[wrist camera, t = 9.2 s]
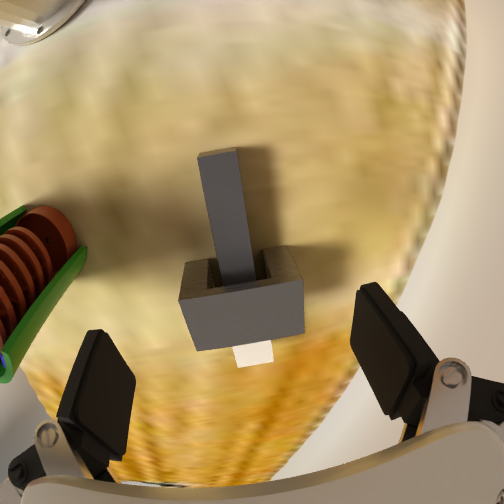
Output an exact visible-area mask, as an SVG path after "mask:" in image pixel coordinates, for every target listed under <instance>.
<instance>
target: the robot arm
mask: <svg viewBox="0 0 504 504" xmlns="http://www.w3.org/2000/svg"><path fill="white" fill-rule="evenodd" d="M84 1H85V0H0V26H1V33H2V36H3V38H4V39H5V40H6V41H7V42H8V43H11V44H14V45H21V46H23V45H29V44H32V43H35V42H37V41H39V40H41V39H43V38H45V37H47V36H48V35H50V34H51V33H52V32H54V31H55V30H57V29H58V28H59V27H60V26H61V25H63V24H64V23H65V22H66V21H67V20H68V19H69V18H70V17H71V16H72V15H73V14H74V13H75V12H76V11H77V10H78V8H79V7H80V6H81V5H82V4H83V2H84ZM350 345H351V348H352V350H353V352H354V354H355V356H356V358H357V360H358V362H359V364H360V366H361V368H362V370H363V372H364V374H365V376H366V378H367V380H368V382H369V384H370V386H371V388H372V390H373V392H374V394H375V396H376V398H377V400H378V402H379V405H380V407H381V409H382V411H383V413H384V414H385V415H389V416H390V418H391V420H394V419H396V418H399V417H402V419H403V421H404V423H405V425H404V428H403V431H402V434H401V437H400V440H399V443H398V444H397V445H395V446H392V447H390V448H387V449H385V450H382V451H379V452H377V453H374V454H371V455H369V456H366V457H363V458H360V459H357V460H354V461H351V462H348V463H346V464H342V465H339V466H335V467H332V468H328V469H325V470H321V471H317V472H313V473H309V474H305V475H300V476H296V477H291V478H286V479H281V480H275V481H269V482H262V483H255V484H247V485H238V486H226V487H209V488H165V487H148V486H137V485H128V484H122V483H121V482H120V481H119V479H118V478H117V476H116V475H115V473H114V472H113V470H112V469H111V467H110V466H109V460H114V461H122V455H124V454H125V453H126V447H127V438H128V431H129V424H130V417H131V410H132V404H133V398H134V392H135V386H136V379H135V376H134V374H133V373H132V371H131V370H130V368H129V367H128V365H127V364H126V362H125V361H124V359H123V357H122V356H121V354H120V353H119V351H118V349H117V348H116V346H115V344H114V343H113V341H112V339H111V338H110V336H109V335H108V333H105V332H104V331H103V330H102V329H98V330H89V331H88V332H87V333H86V335H85V338H84V340H83V343H82V345H81V347H80V350H79V352H78V355H77V357H76V360H75V363H74V365H73V368H72V370H71V373H70V376H69V379H68V381H67V384H66V387H65V390H64V393H63V396H62V399H61V402H60V405H59V408H58V412H57V415H56V417H57V418H58V421H57V422H56V421H55V420H52V419H50V420H45V421H42V422H41V423H40V424H39V425H38V426H37V428H36V430H35V432H34V443H35V444H34V445H33V446H31V447H30V448H28V449H27V450H26V451H25V452H23V453H22V454H20V455H19V456H17V457H16V458H14V459H13V460H12V461H11V463H10V465H9V468H8V476H9V479H8V478H7V477H6V478H5V480H4V481H3V482H2V484H1V485H0V504H504V383H499V382H494V381H490V380H486V379H482V378H478V377H474V376H471V371H470V369H469V367H468V366H467V365H466V363H465V362H463V361H461V360H460V359H457V358H446V359H443V360H442V361H439V360H438V358H437V357H436V356H435V354H434V353H433V351H432V350H431V348H430V347H429V346H428V344H427V343H426V342H425V340H424V339H423V338H422V336H421V335H420V334H419V332H418V331H417V330H416V328H415V327H414V326H413V324H412V323H411V322H410V321H409V319H408V318H407V317H406V315H405V314H404V313H403V312H402V311H400V310H399V309H398V308H397V307H396V305H395V304H394V303H393V301H392V300H391V299H390V298H389V296H388V295H387V294H386V293H385V292H384V290H383V289H382V288H381V287H380V285H379V284H378V283H377V282H372V283H368V284H364V285H361V287H360V290H357V292H356V299H355V307H354V315H353V323H352V330H351V337H350Z"/></svg>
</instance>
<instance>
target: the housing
mask: <svg viewBox="0 0 504 504" xmlns="http://www.w3.org/2000/svg"><path fill="white" fill-rule="evenodd" d="M263 254H264V262H265V270H266V277H267V279H264V280H258V281H252V282H247V283H241V284H235V285H229V286H223V287H217V288H215V286H214V282H213V278H212V273H211V269H210V265H209V261H208V259H205V260H199V261H193V262H188V263H185V267H184V272H183V277H182V283H181V288H180V294H179V299H178V301H179V304H180V307H181V310H182V313H183V315H184V318H185V321H186V324H187V326H188V329H189V332H190V334H191V337H192V340H193V342H194V345H195V347H196V350H197V351H204V350H211V349H219V348H226V347H232V346H239V345H245V344H251V343H257V342H262V341H268V340H273V339H278V338H283V337H288V336H293V335H298V334H303V333H305V331H304V296H303V279H302V277H301V275H300V273H299V271H298V269H297V267H296V265H295V263H294V261H293V259H292V257H291V255H290V253H289V251H288V249H287V247H286V246H281V247H275V248H269V249H263Z"/></svg>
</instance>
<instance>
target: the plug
mask: <svg viewBox="0 0 504 504" xmlns="http://www.w3.org/2000/svg"><path fill="white" fill-rule="evenodd" d="M197 160H198V165H199V170H200V176H201V181H202V186H203V191H204V196H205V201H206V206H207V211H208V216H209V221H210V226H211V231H212V236H213V240H214V245H215V250H216V254H217V259H218V263H219V268H220V272H221V277H222V281H223V286H229V285H235V284H241V283H247V282H252V281H256V275H255V268H254V262H253V255H252V249H251V242H250V236H249V229H248V222H247V216H246V209H245V203H244V196H243V189H242V183H241V176H240V170H239V163H238V157H237V151H236V149H235V147H232V148H226V149H220V150H214V151H209V152H203V153H200V154H199V155H198V157H197ZM232 348H233V351H234V355H235V359H236V362H237V366H238V367H245V366H251V365H257V364H263V363H268V362H274V361H273V353H272V345H271V340H268V341H262V342H257V343H251V344H245V345H239V346H232Z"/></svg>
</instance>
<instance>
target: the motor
mask: <svg viewBox="0 0 504 504" xmlns="http://www.w3.org/2000/svg"><path fill="white" fill-rule="evenodd" d="M25 211H26V209H25V208H24V206H21V207H19V208H18V209H16V210H14V211H13V212H11V213H9V214H8V215H6V216H5V217H3V218H1V219H0V383H8V382H10V381H11V380H12V378H13V376H14V374H15V372H16V370H17V368H18V367H19V365H20V363H21V361H22V359H23V357H24V356H25V354H26V352H27V350H28V349H29V347H30V345H31V343H32V342H33V340H34V338H35V337H36V335H37V333H38V332H39V330H40V329H41V327H42V325H43V324H44V322H45V321H46V319H47V318H48V316H49V314H50V313H51V311H52V310H53V308H54V307H55V305H56V304H57V303H58V301H59V300H60V298H61V297H62V295H63V294H64V292H65V291H66V290H67V288H68V287H69V285H70V284H71V283H72V281H73V280H74V279H75V277H76V276H77V275H78V273H79V272H80V271H81V269H82V267H83V265H84V263H85V260H86V254H87V247H84V246H81V247H80V248H79V249H78V250H77V242H76V237H75V233H74V231H73V228H72V226H71V224H70V223H69V221H68V220H67V218H66V217H65V216H64V215H63V214H62V213H61V212H59V211H58V210H56V209H55V208H52V207H49V206H39V207H36V208H34V209H33V210H31V211H30V212H28V213H27V214H25V215H23V214H24V212H25ZM47 238H49V239H50V243H48V242H47V240H46V239H47Z"/></svg>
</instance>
